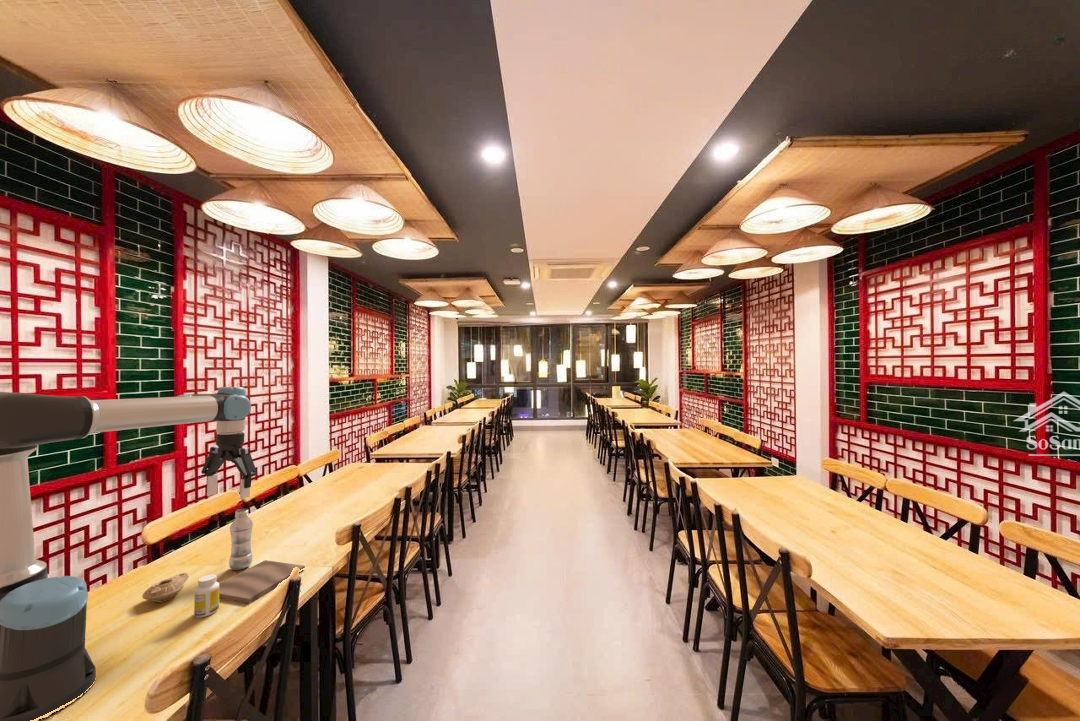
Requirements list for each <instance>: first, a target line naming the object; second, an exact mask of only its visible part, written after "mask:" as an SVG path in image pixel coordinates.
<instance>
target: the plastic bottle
mask: <svg viewBox="0 0 1080 721" xmlns="http://www.w3.org/2000/svg"><path fill="white" fill-rule="evenodd" d="M234 513H235V515H234V518H235V519H234V520H233V521H232V522H231V524H230V527H229V531H230V532H229V533H230V539H231V549H230V557H229V561H228V566H229V568H230V570H232V571H240V570H241V571H242V570H244V569H247V568H248V567H250V565H251V564H252V562H253V552H252V546H251V545H252V544H251V541H252V532H253V526H254V523H253V520H252V519H251V518H250V517H249V515H250V513H249V509H248V508H241V509H237V510H235V512H234Z"/></svg>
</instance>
